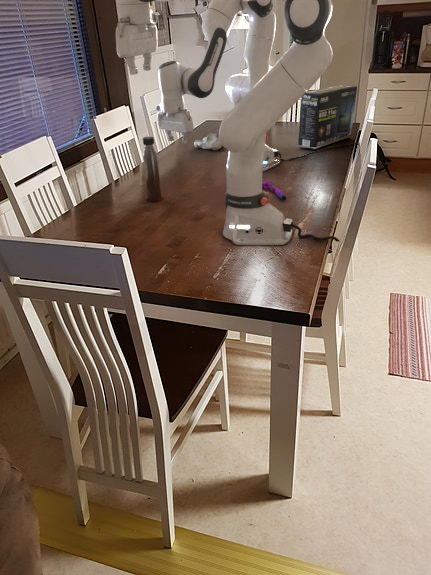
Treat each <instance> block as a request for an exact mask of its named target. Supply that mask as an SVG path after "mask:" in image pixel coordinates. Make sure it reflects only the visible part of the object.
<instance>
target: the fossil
mask: <svg viewBox="0 0 431 575" xmlns="http://www.w3.org/2000/svg"><path fill="white" fill-rule="evenodd" d="M193 145H194V147H195V148H197V149H204V150H212V151H214V152H215V151H218V150H220V149H221V148H222V147H224V146H223V145H222V144H221V142H220V139H219V134H217V133H216V132H208V134H207V135H206V136H204V137H203V138H202V139H196V140H195V141H194V142H193Z"/></svg>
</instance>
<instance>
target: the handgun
mask: <svg viewBox="0 0 431 575" xmlns="http://www.w3.org/2000/svg"><path fill="white" fill-rule="evenodd" d="M262 188H264V189H267V190H268V189H269V190H270V191H271V192H273V193H275V194H276V195H277V196H278V197H279V198H280V200H281V201H283V202H284V201H286V200H287V196H286V195H285V194H284V193H283V191H281V189H279V188H278V187H277V186H276V185H275V184H274V183H273V181H272V180H265V181H262Z"/></svg>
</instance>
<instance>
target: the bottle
mask: <svg viewBox="0 0 431 575" xmlns="http://www.w3.org/2000/svg"><path fill="white" fill-rule="evenodd" d="M142 160H143V169H144V177H145V185H146V195H147V201H149V202H159V201H161V200H162V190H161V188H162V187H161V178H160V168H159V160H158V153H157V150H156V148H155V146H154V144H153V145H144V149H143V152H142Z"/></svg>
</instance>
